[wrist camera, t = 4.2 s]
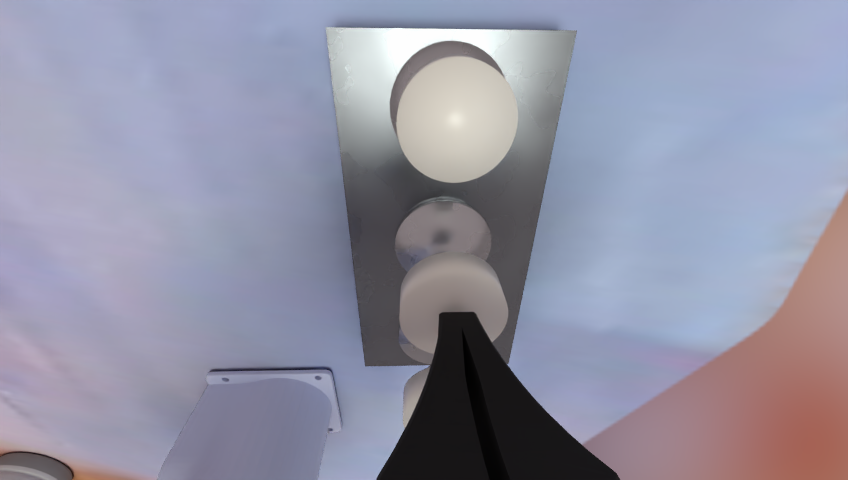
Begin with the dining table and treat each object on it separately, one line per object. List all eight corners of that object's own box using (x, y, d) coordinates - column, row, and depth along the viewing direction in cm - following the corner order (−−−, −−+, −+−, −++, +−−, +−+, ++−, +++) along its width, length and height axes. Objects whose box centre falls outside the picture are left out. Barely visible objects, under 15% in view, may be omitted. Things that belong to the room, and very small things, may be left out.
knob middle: (402, 311, 17) (400, 356, 15) (399, 236, 15) (397, 275, 13) (488, 310, 18) (500, 354, 15) (499, 236, 15) (515, 274, 13)
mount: (368, 343, 26) (364, 369, 24) (335, 27, 15) (324, 27, 13) (502, 341, 26) (509, 367, 24) (558, 30, 16) (579, 30, 14)
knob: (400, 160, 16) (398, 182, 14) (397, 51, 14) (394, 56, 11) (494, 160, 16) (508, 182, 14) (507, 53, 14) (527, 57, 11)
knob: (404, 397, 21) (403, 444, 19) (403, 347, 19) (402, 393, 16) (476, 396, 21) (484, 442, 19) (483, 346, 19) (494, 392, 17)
